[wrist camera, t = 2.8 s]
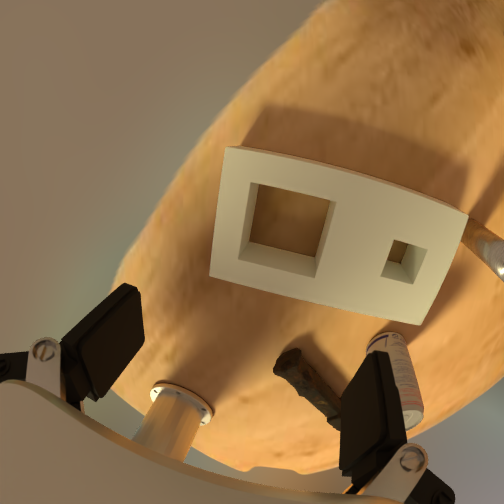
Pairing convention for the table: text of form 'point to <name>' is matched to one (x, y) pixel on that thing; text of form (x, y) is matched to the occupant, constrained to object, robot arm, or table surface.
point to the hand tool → (309, 385)
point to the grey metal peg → (485, 246)
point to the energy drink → (401, 375)
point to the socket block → (337, 237)
